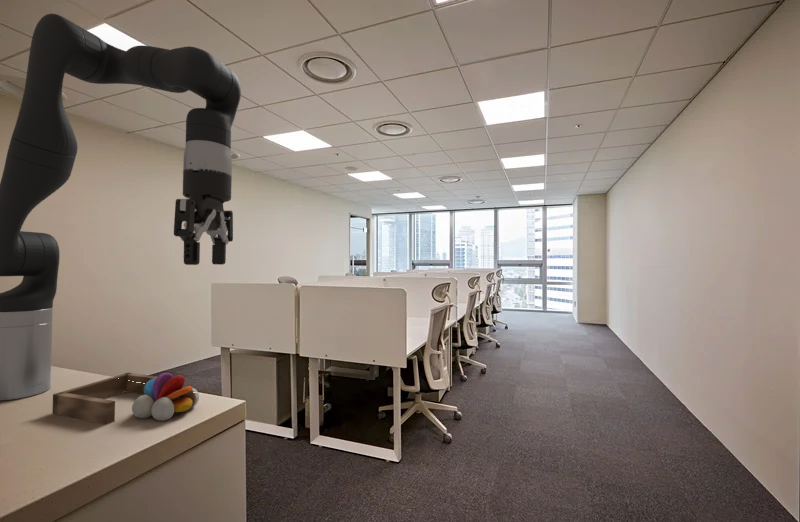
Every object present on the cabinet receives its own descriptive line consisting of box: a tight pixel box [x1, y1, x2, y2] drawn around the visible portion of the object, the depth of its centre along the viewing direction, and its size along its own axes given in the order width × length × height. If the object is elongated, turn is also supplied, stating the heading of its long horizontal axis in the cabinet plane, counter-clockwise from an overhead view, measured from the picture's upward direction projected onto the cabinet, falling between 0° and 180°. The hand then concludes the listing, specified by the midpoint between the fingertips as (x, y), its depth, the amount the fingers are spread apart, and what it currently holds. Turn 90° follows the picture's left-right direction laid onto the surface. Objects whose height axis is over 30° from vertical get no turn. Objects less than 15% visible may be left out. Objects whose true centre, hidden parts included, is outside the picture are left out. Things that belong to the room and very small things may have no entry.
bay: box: [51, 372, 158, 425], centre depth 69 cm, size 13×14×4 cm
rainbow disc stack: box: [131, 372, 200, 422], centre depth 66 cm, size 8×10×7 cm
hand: (206, 264), depth 63 cm, fingers open, 8 cm apart
